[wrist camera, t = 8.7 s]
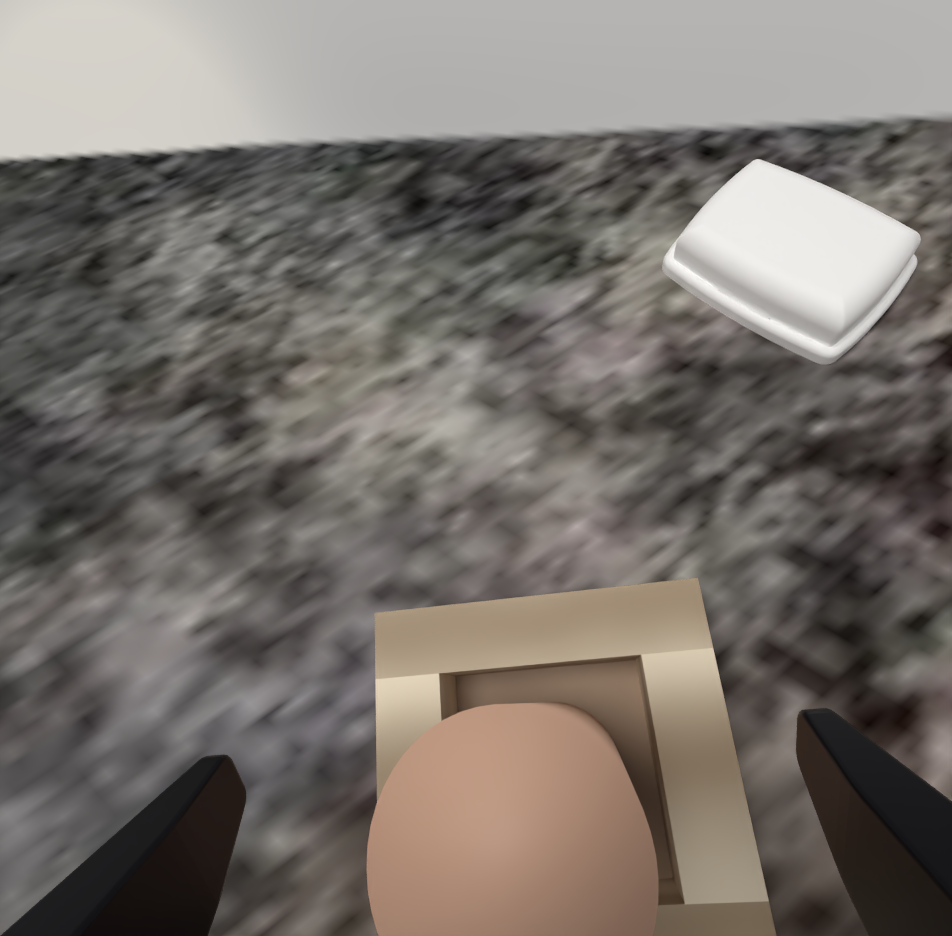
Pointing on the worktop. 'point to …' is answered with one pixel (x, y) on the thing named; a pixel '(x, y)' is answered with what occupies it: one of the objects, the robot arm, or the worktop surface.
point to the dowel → (512, 831)
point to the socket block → (600, 720)
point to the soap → (794, 260)
